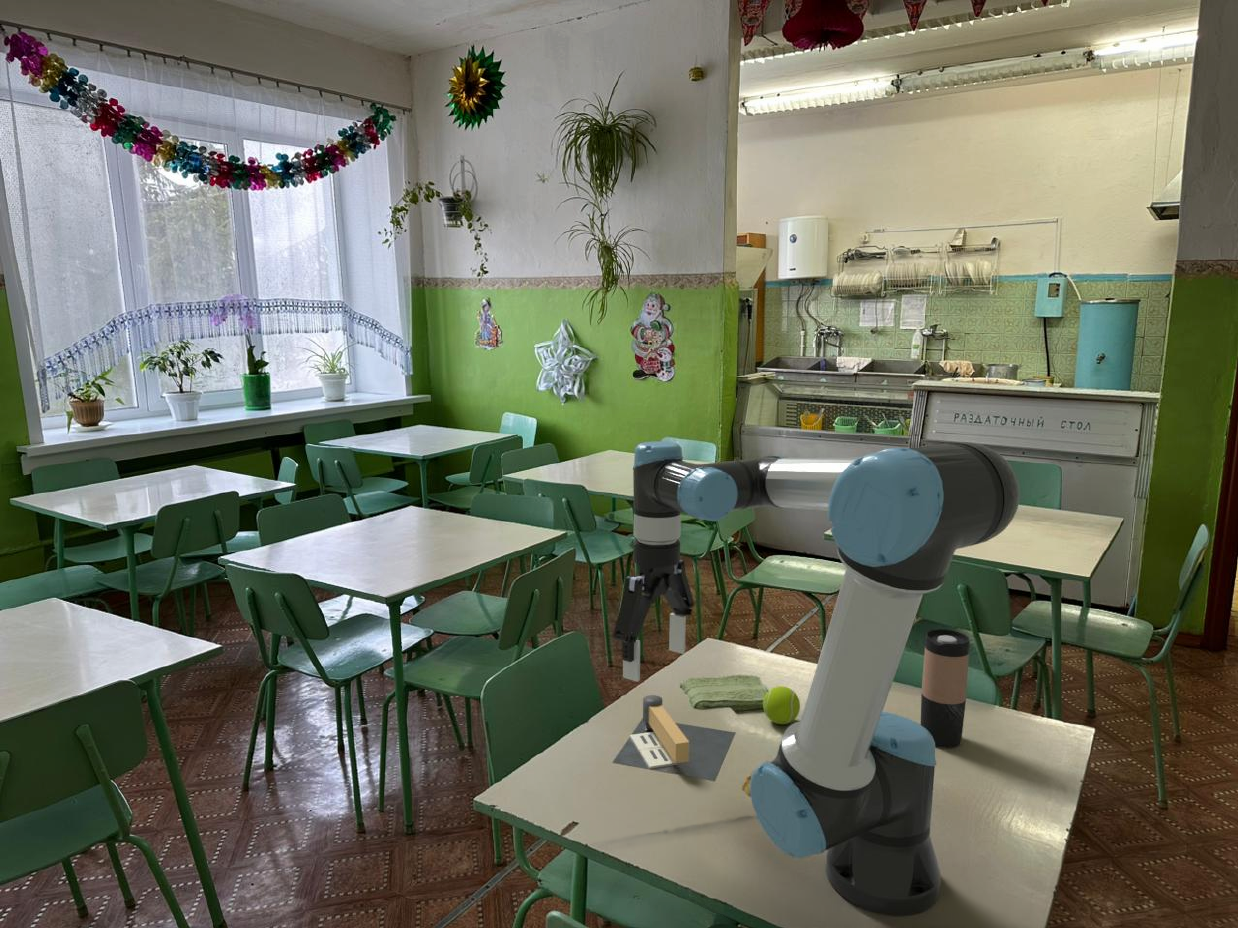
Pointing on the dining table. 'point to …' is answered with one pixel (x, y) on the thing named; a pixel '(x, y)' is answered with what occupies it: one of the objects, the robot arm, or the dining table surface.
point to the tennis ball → (781, 705)
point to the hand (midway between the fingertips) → (655, 664)
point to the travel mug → (944, 686)
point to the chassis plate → (703, 751)
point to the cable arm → (665, 728)
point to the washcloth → (725, 692)
